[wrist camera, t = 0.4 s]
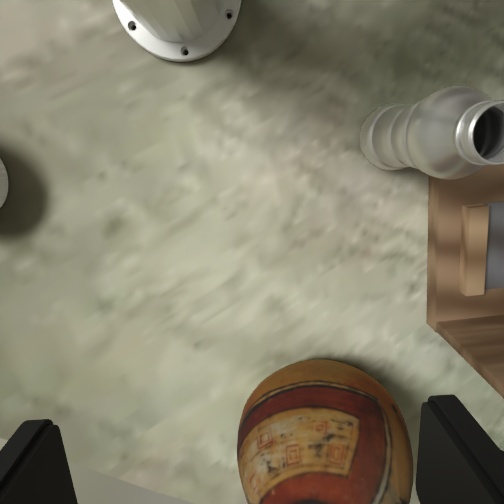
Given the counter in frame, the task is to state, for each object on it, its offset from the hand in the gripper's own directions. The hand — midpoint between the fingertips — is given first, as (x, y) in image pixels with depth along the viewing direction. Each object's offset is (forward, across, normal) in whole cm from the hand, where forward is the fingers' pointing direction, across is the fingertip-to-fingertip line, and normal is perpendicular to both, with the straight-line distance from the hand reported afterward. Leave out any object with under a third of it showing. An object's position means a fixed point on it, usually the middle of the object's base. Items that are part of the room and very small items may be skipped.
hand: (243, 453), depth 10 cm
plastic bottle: (+36, -16, -7) cm, 39 cm away
